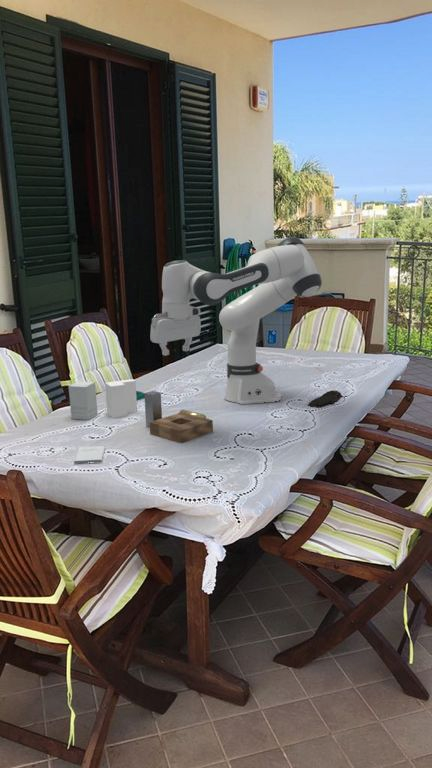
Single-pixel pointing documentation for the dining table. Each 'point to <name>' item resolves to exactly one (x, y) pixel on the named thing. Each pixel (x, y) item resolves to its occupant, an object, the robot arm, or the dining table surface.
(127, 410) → the corner bracket
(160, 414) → the square bit
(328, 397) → the dark elongated pod
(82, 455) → the external hard drive
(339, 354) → the dining table surface
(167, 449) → the dining table surface
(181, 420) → the socket block
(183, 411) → the round bit
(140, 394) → the digital multimeter
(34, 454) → the dining table surface
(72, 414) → the supplement box
